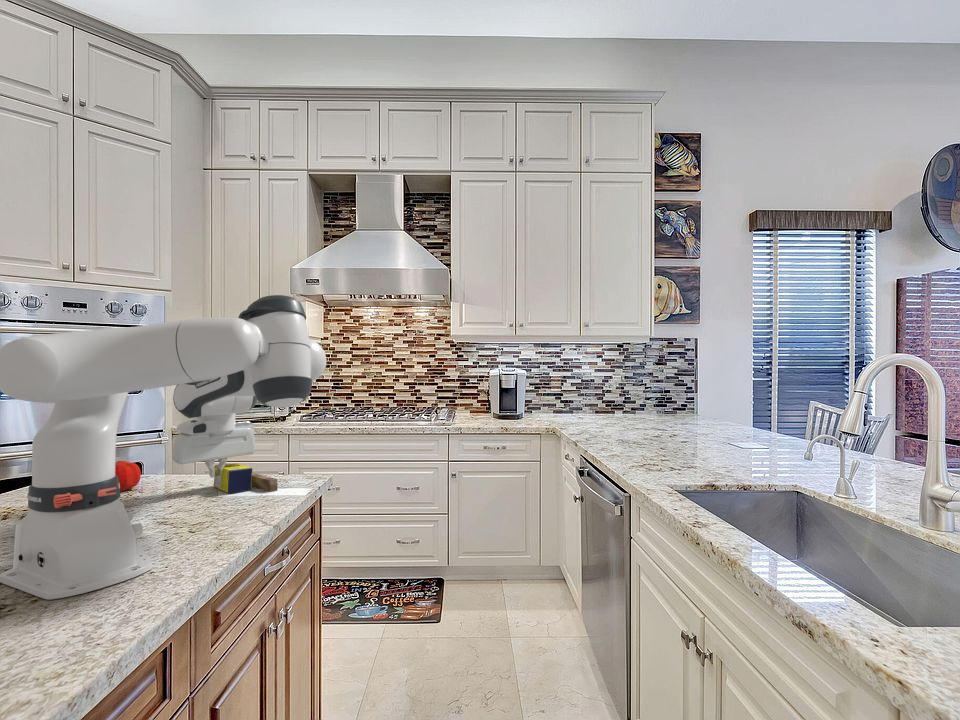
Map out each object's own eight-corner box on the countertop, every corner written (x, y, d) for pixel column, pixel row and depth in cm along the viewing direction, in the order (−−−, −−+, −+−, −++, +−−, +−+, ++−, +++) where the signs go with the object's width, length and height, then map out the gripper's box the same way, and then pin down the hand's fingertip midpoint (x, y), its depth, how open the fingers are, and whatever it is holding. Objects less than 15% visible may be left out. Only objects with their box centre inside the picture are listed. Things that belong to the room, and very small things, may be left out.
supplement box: (253, 468, 132) (236, 462, 139) (230, 470, 127) (214, 464, 135) (252, 490, 132) (235, 483, 139) (228, 493, 127) (212, 486, 134)
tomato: (88, 490, 131) (88, 462, 131) (137, 483, 138) (137, 457, 138) (92, 498, 123) (92, 468, 123) (144, 491, 130) (144, 462, 130)
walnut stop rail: (277, 490, 132) (277, 479, 132) (270, 491, 130) (270, 480, 130) (245, 481, 141) (245, 471, 141) (238, 482, 139) (238, 472, 139)
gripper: (248, 419, 140) (247, 467, 140) (170, 426, 124) (169, 481, 124) (260, 421, 137) (259, 470, 137) (181, 428, 120) (180, 485, 120)
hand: (215, 475), depth 130 cm, fingers closed
